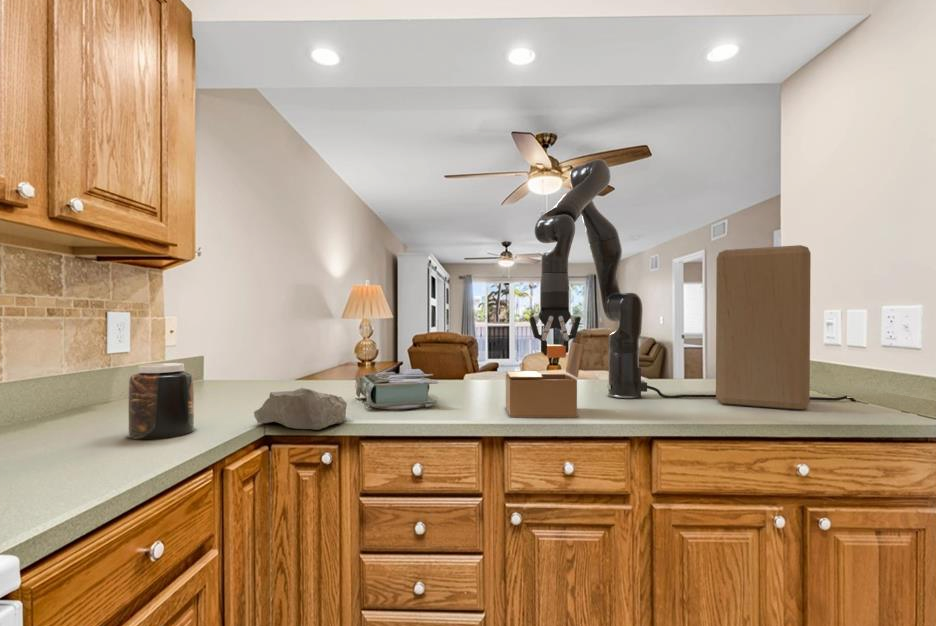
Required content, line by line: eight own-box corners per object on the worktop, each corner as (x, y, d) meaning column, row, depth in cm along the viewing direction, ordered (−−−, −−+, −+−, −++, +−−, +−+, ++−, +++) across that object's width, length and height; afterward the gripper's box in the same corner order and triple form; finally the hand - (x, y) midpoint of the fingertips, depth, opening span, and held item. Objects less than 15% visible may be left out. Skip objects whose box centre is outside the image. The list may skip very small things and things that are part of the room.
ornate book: (353, 400, 154) (366, 413, 126) (353, 369, 155) (366, 376, 126) (422, 396, 162) (449, 408, 134) (421, 367, 162) (448, 373, 134)
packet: (543, 355, 133) (544, 344, 133) (560, 355, 133) (560, 344, 133) (548, 357, 126) (548, 346, 126) (565, 357, 126) (565, 346, 126)
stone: (239, 431, 108) (321, 434, 104) (238, 388, 108) (320, 389, 104) (285, 415, 126) (356, 417, 122) (284, 378, 126) (356, 379, 122)
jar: (165, 441, 99) (164, 367, 98) (115, 438, 101) (114, 366, 100) (205, 428, 110) (204, 362, 110) (159, 426, 112) (159, 362, 112)
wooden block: (810, 412, 129) (811, 243, 128) (715, 405, 140) (716, 249, 140) (801, 400, 148) (802, 253, 148) (718, 394, 160) (719, 258, 159)
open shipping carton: (566, 407, 136) (566, 371, 136) (576, 417, 123) (577, 376, 123) (505, 407, 136) (505, 371, 136) (510, 417, 123) (510, 376, 123)
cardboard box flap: (565, 371, 136) (567, 371, 136) (576, 377, 123) (577, 377, 123) (570, 342, 136) (572, 342, 136) (582, 344, 123) (583, 344, 123)
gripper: (578, 291, 133) (577, 353, 133) (526, 291, 133) (525, 353, 133) (584, 290, 125) (584, 356, 125) (529, 290, 125) (529, 355, 125)
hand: (554, 354), depth 129 cm, fingers closed on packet, 4 cm apart
